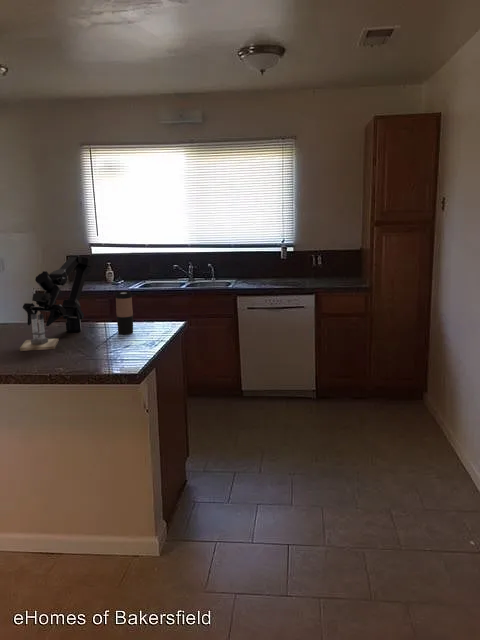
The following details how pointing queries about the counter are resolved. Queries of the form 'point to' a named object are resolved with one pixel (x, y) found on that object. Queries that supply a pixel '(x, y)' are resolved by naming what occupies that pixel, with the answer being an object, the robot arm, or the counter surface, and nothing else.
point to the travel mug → (124, 312)
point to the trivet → (49, 345)
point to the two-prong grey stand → (41, 339)
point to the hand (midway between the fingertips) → (37, 325)
